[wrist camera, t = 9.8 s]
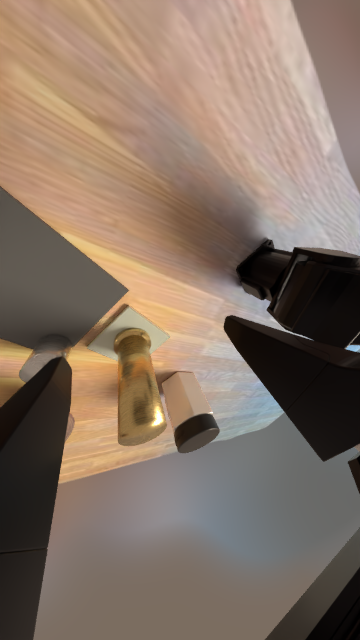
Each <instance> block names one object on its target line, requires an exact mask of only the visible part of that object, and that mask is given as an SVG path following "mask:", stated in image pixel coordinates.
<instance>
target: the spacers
mask: <svg viewBox="0 0 360 640" xmlns="http://www.w3.org/2000/svg"><path fill="white" fill-rule="evenodd" d="M71 348H72V342H71V340H70V339H69V338H67V337H66V336H63V335H60V334H48V335H45V336H43V337H42V338H41V339H40V340H39V342H38V343H37V345H36V347H35V348H34V350H33V351H32V353H31V354H30V356H29V357H28V359H27V361H26V362H25V364H24V365H23V367H22V368H21V370H20V372H19V377H20V378H21V379H22V380H23V381H24V382H26V383H27V382H28V381H29V380H30V379H31V378H32V377H33V376H34V375H35V374H36V373H37V372H38V371H39V370H40V369H41V368H43V367H44V366H45V365H46V364H47V363H48V362H49V361H50V360H51V359H53V358H57V357H61V356H62V357H64V358H65V359H66V361H67V359H68V356H69V353H70V351H71Z"/></svg>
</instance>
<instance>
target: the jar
mask: <svg viewBox="0 0 360 640" xmlns="http://www.w3.org/2000/svg"><path fill="white" fill-rule="evenodd" d="M162 388H163V394H164V398H165V403H166V407H167V412H168V416H169V419H170V421H171V425H172V429H173V432H174V437H175V443H176V446H177V449H178V452H180V453H188V452H191V451H194V450H197V449H199V448H201V447H203V446H205V445H206V444H208V443H209V442H211V441H212V440H213V439H215V438H216V437H217V435H218V434H219V431H220V430H219V428H218V426H217V423H216V421H215V419H214V417H213V415H212V414H213V411H212V409H211V407H210V405H209V403H208V401H207V399H206V397H205V395H204V393H203V391H202V389H201V387H200V385H199V383H198V381H197V378H196V376H195V374H194V373H191V372H177V373H175V374H174V375H172V376H171V377H170V378H168V379H167V380H165V381H164V382H163V383H162Z"/></svg>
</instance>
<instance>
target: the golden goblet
mask: <svg viewBox="0 0 360 640" xmlns="http://www.w3.org/2000/svg"><path fill="white" fill-rule="evenodd" d="M150 347H151V339H150V336H149V334H148V333H147V332H146V331H145V330H143V329H140V328H128V329H125V330H123V331H121V332H120V333H118V334H117V336H116V337H115V339H114V352H115V353H116V354H117V355H118V443H119V444H120V445H123V446H134V445H139V444H142V443H145V442H148V441H150V440H152V439H154V438H156V437H157V436H159V435H160V434H161V433H162V432H163V431H164V430H165V429H166V426H167V424H166V420H165V415H164V411H163V407H162V403H161V398H160V394H159V390H158V386H157V381H156V377H155V373H154V369H153V364H152V360H151V356H150V352H149V350H150Z"/></svg>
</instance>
